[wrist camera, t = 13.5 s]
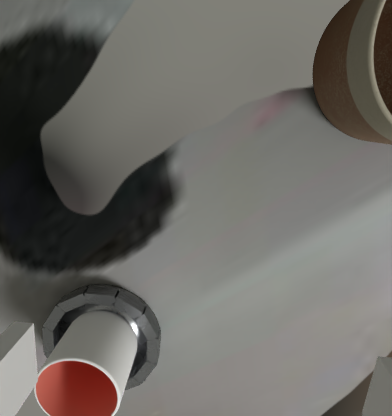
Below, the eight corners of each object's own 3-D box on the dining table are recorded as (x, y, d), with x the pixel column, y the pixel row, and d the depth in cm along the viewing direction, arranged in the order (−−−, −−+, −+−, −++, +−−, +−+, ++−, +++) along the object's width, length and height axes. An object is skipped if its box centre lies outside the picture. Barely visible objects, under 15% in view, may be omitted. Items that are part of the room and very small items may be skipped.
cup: (76, 365, 47) (41, 428, 38) (65, 306, 45) (25, 358, 35) (142, 364, 47) (124, 429, 37) (135, 305, 44) (114, 358, 34)
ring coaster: (49, 279, 44) (39, 289, 42) (163, 290, 44) (160, 300, 41) (54, 373, 49) (46, 386, 46) (158, 383, 48) (155, 397, 46)
